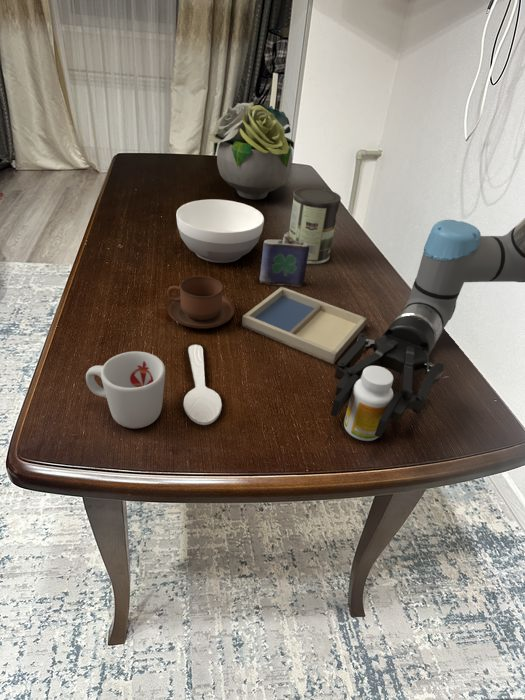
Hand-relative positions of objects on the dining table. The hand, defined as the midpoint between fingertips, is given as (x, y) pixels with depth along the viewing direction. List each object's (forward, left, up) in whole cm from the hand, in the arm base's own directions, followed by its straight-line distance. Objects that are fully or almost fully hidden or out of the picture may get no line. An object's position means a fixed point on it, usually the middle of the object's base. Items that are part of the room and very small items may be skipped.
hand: (357, 418), depth 62 cm
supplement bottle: (0, -5, -6) cm, 8 cm away
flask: (+30, -35, -6) cm, 47 cm away
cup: (+28, +12, -6) cm, 31 cm away
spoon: (+24, +1, -6) cm, 25 cm away
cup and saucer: (+35, -14, -6) cm, 38 cm away
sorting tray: (+18, -23, -6) cm, 30 cm away
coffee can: (+32, -51, -6) cm, 61 cm away
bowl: (+48, -38, -6) cm, 62 cm away
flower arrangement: (+63, -76, -6) cm, 99 cm away
